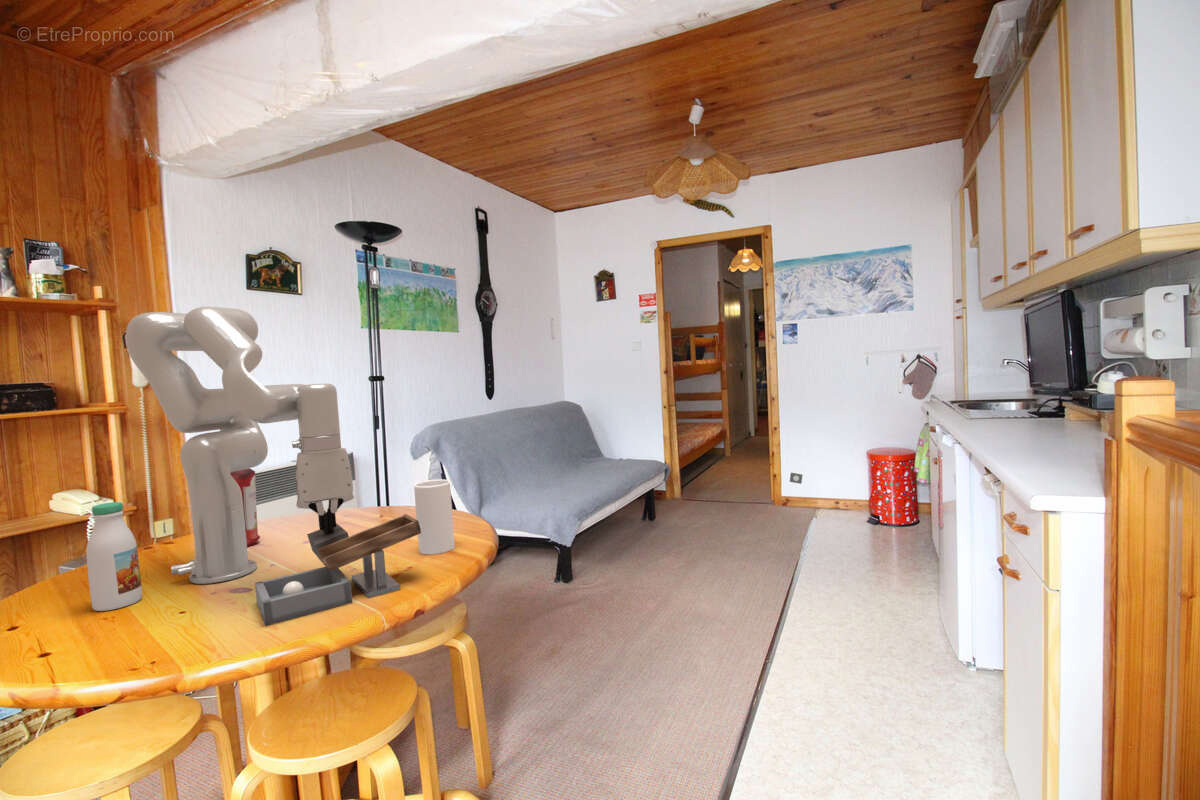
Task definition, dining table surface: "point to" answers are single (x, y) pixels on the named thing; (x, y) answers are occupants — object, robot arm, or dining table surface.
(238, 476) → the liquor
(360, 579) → the pivot stand
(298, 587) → the ball
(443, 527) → the cup
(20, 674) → the dining table surface
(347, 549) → the trough
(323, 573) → the tray
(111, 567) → the milk bottle
